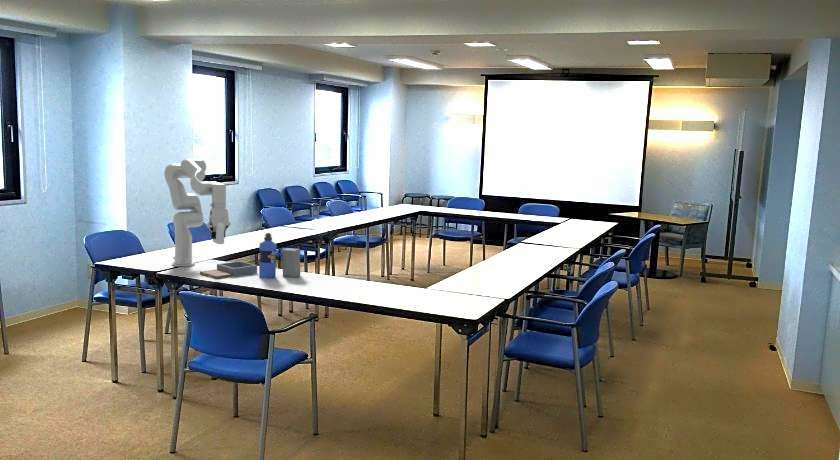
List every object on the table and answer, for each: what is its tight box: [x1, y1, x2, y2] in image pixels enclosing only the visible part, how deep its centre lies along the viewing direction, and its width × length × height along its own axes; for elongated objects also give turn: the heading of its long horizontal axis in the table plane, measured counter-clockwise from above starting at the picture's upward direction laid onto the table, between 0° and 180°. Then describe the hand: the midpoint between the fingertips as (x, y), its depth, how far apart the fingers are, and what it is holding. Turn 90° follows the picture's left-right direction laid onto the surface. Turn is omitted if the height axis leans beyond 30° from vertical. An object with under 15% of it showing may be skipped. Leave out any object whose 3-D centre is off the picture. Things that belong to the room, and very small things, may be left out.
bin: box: [216, 260, 258, 277], centre depth 402 cm, size 16×16×4 cm
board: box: [199, 268, 233, 280], centre depth 391 cm, size 16×10×2 cm, turn 50°
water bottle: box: [258, 232, 277, 279], centre depth 393 cm, size 9×9×25 cm
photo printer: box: [212, 222, 225, 245], centre depth 389 cm, size 10×4×12 cm, turn 33°
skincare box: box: [281, 247, 301, 278], centre depth 399 cm, size 8×7×16 cm
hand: (218, 237), depth 390 cm, fingers closed on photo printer, 5 cm apart
